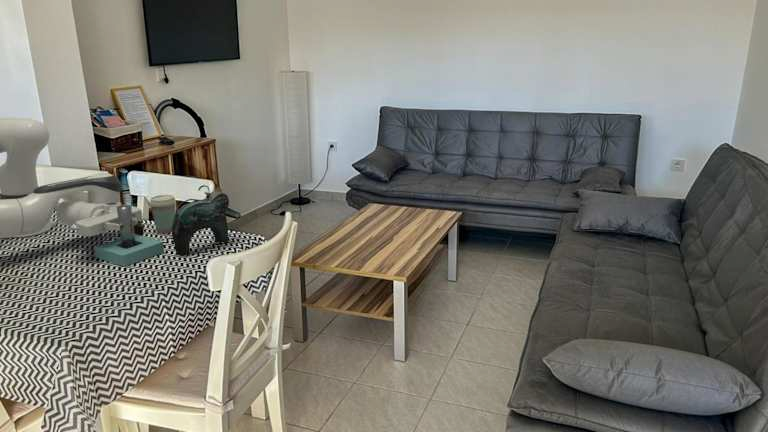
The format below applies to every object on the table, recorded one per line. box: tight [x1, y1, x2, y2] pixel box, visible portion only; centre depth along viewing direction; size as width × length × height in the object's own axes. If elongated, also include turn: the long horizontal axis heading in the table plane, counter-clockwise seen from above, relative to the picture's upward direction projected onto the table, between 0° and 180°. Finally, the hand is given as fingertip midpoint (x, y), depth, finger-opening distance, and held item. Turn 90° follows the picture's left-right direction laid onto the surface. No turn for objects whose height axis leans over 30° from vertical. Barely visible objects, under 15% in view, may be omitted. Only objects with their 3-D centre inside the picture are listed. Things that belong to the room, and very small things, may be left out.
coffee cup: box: [149, 194, 177, 234], centre depth 200 cm, size 8×9×12 cm
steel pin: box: [117, 204, 136, 249], centre depth 177 cm, size 4×4×14 cm
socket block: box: [94, 234, 165, 268], centre depth 179 cm, size 14×14×4 cm
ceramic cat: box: [171, 184, 230, 257], centre depth 183 cm, size 20×6×20 cm, turn 141°
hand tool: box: [134, 220, 145, 236], centre depth 205 cm, size 19×4×5 cm, turn 22°
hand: (128, 224), depth 176 cm, fingers closed on steel pin, 4 cm apart
